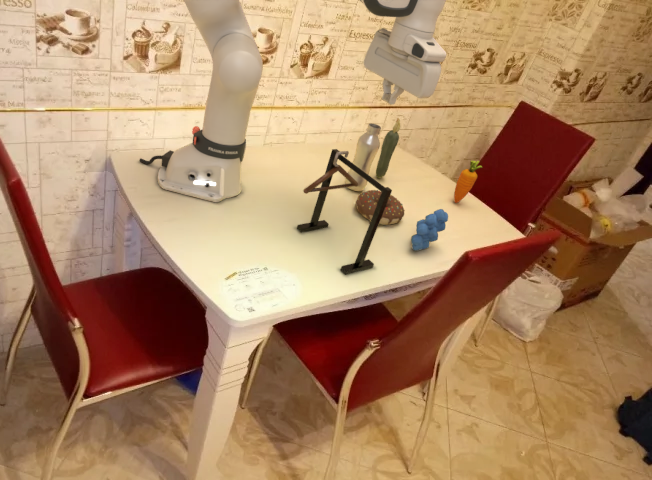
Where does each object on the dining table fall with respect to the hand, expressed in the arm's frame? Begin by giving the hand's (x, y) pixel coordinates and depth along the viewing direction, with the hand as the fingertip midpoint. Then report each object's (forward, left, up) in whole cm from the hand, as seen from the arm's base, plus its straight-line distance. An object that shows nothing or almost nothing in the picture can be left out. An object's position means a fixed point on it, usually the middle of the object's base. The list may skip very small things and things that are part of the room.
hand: (387, 102), depth 122 cm
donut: (+10, +6, -33) cm, 35 cm away
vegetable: (+16, +30, -33) cm, 48 cm away
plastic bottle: (+6, +20, -33) cm, 39 cm away
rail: (-6, -14, -33) cm, 36 cm away
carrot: (+41, +22, -33) cm, 57 cm away
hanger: (-9, -8, -20) cm, 24 cm away
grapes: (+19, -8, -33) cm, 39 cm away
